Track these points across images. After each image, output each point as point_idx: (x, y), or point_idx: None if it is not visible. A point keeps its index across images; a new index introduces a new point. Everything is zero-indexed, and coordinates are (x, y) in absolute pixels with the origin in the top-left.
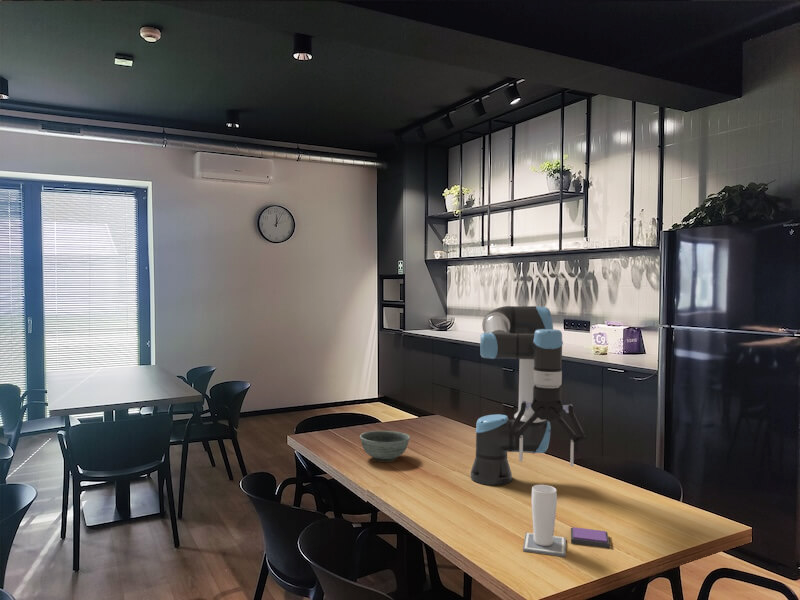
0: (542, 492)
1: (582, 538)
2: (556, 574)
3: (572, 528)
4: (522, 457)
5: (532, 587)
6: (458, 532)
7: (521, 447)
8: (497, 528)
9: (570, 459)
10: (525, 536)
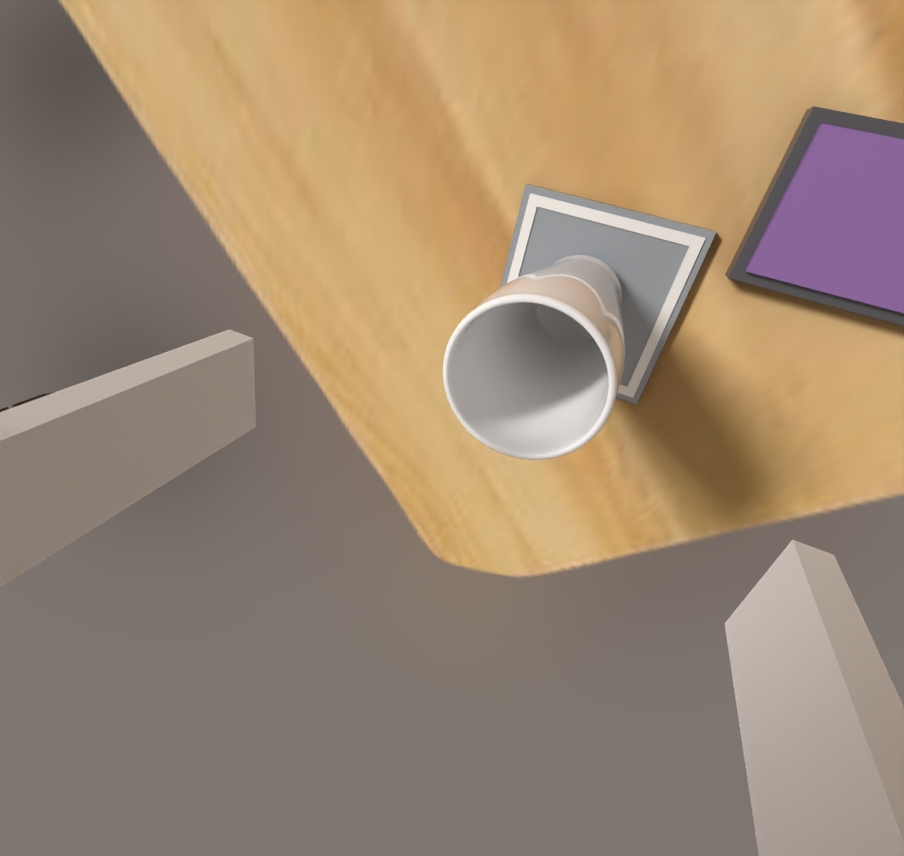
0: (494, 449)
1: (793, 283)
2: (558, 502)
3: (817, 121)
4: (237, 371)
5: (474, 547)
6: (271, 189)
7: (123, 501)
8: (411, 120)
9: (760, 652)
10: (515, 233)
